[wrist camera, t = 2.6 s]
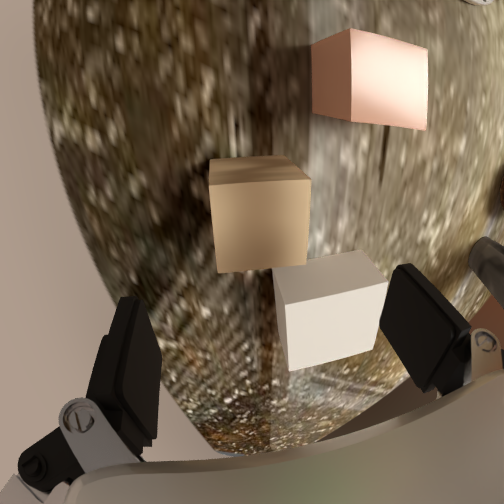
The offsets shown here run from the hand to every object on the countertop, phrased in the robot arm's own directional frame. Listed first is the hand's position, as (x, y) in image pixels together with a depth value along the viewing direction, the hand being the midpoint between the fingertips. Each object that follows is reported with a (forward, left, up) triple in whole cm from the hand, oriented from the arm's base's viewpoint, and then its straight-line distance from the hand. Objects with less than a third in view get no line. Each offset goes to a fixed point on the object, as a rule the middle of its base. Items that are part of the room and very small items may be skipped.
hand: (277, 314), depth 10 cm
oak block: (0, -1, -12) cm, 12 cm away
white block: (-6, +9, -12) cm, 16 cm away
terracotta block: (-7, -9, -12) cm, 16 cm away
